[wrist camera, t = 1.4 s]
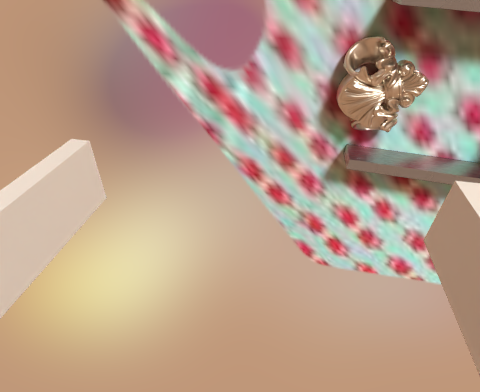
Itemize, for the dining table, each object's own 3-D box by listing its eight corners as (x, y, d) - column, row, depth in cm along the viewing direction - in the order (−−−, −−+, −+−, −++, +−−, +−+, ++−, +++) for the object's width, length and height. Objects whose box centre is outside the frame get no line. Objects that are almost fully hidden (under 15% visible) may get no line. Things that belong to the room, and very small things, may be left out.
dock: (343, 153, 31) (346, 168, 29) (396, -16, 22) (406, -14, 20) (492, 174, 30) (508, 193, 27) (609, 2, 21) (647, 8, 19)
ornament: (420, 117, 28) (433, 135, 25) (340, 133, 30) (344, 151, 27) (422, 20, 24) (437, 28, 21) (329, 46, 26) (331, 57, 23)
